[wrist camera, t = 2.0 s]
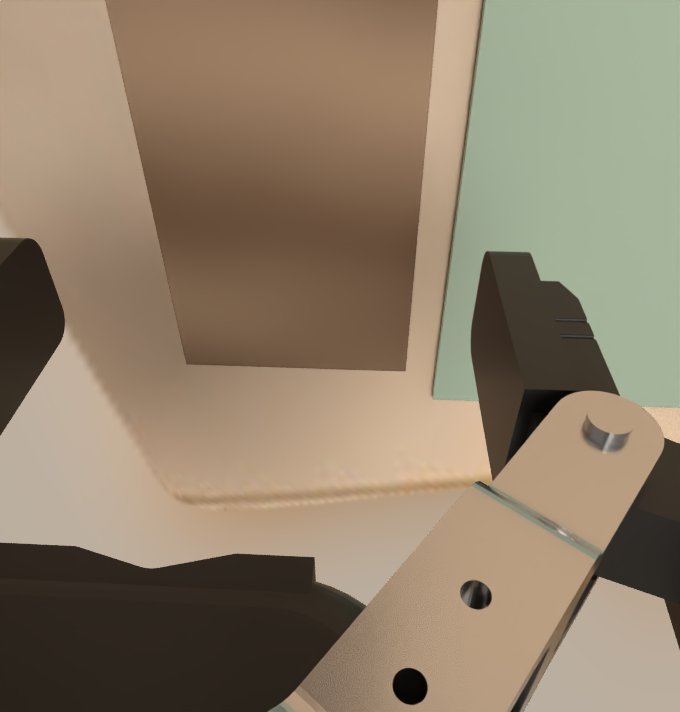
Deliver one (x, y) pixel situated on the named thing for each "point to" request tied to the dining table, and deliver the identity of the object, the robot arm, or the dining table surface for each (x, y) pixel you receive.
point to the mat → (576, 180)
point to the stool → (283, 171)
